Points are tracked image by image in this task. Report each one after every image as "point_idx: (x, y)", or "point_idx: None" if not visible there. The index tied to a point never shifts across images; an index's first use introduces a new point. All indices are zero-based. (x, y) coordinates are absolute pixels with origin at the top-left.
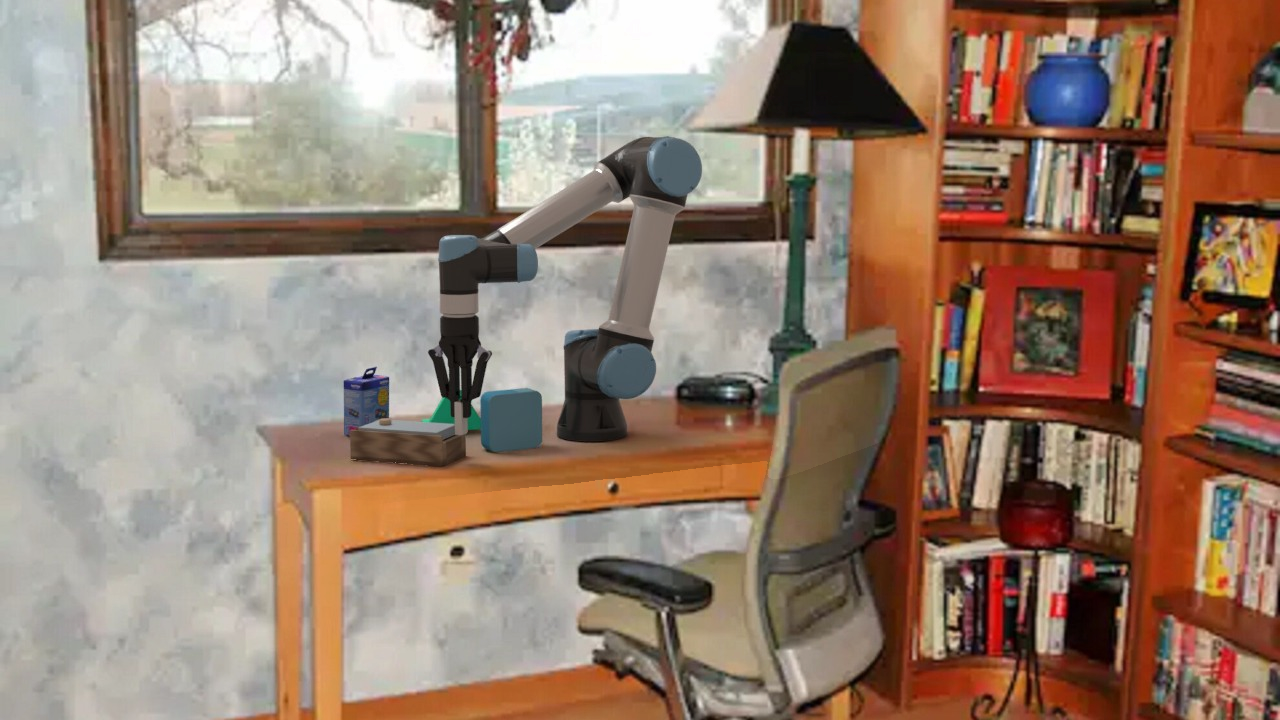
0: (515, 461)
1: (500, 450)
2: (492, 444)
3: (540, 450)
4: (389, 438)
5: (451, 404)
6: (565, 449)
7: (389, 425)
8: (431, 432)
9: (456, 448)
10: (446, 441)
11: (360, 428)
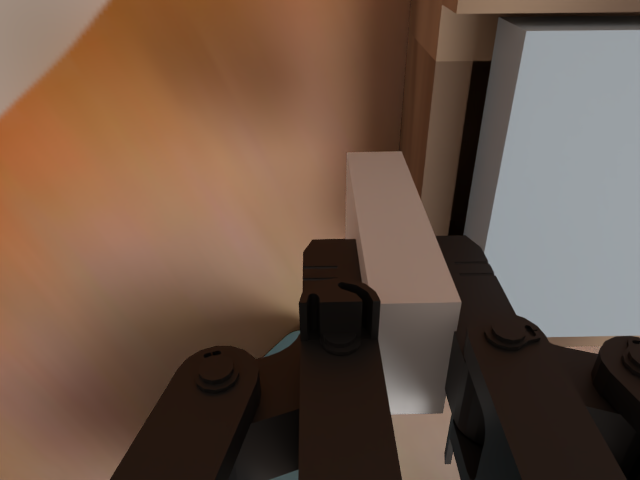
0: (112, 217)
1: (274, 349)
2: None
3: (144, 405)
4: None
5: (500, 307)
6: (70, 438)
7: None
8: (573, 29)
9: None
10: (441, 84)
11: None
